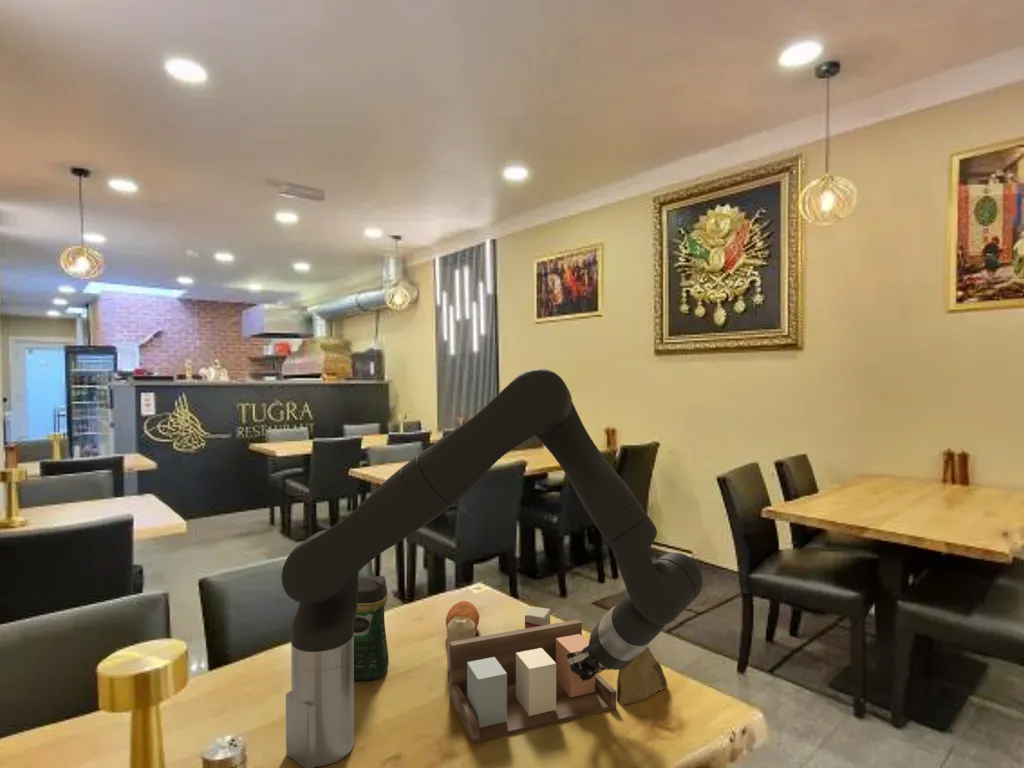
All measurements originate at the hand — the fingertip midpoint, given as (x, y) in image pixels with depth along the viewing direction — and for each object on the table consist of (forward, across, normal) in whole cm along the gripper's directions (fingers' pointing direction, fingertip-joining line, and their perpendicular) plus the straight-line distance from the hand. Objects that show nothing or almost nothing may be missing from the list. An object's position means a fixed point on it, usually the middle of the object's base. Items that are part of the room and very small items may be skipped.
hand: (583, 674), depth 103 cm
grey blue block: (+4, +18, +3) cm, 18 cm away
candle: (+17, +17, -10) cm, 26 cm away
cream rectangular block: (+4, +9, +2) cm, 10 cm away
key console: (+6, +9, +1) cm, 10 cm away
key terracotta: (+6, 0, +1) cm, 6 cm away
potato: (+27, +12, -20) cm, 36 cm away
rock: (+2, -11, +5) cm, 12 cm away
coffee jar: (+21, +35, -14) cm, 43 cm away
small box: (+18, 0, -11) cm, 22 cm away
